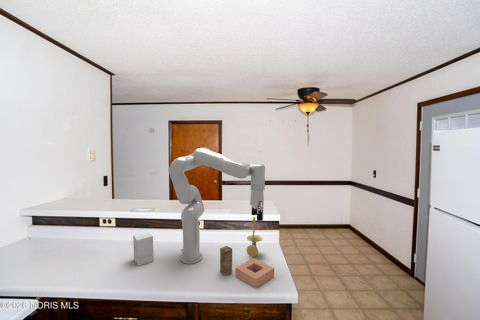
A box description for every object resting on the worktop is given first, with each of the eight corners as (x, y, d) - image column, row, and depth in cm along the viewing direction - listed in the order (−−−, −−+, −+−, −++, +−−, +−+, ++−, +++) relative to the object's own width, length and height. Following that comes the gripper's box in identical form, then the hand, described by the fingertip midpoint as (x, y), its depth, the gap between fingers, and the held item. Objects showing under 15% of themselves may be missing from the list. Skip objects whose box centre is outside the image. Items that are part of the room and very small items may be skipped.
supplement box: (149, 255, 145) (149, 231, 144) (154, 261, 138) (153, 236, 136) (133, 259, 140) (132, 234, 138) (137, 266, 132) (136, 239, 131)
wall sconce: (260, 263, 136) (261, 220, 134) (244, 261, 138) (244, 219, 136) (263, 252, 150) (263, 213, 148) (248, 250, 152) (248, 211, 149)
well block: (235, 276, 123) (235, 267, 123) (253, 266, 133) (253, 258, 133) (255, 288, 114) (255, 279, 113) (274, 276, 123) (274, 268, 123)
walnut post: (220, 272, 127) (220, 248, 126) (226, 269, 130) (226, 245, 129) (225, 275, 124) (225, 251, 123) (232, 272, 127) (232, 248, 126)
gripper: (246, 184, 138) (246, 213, 139) (255, 190, 121) (255, 223, 122) (259, 183, 139) (258, 212, 141) (269, 189, 123) (269, 222, 124)
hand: (256, 217), depth 132 cm, fingers open, 9 cm apart
